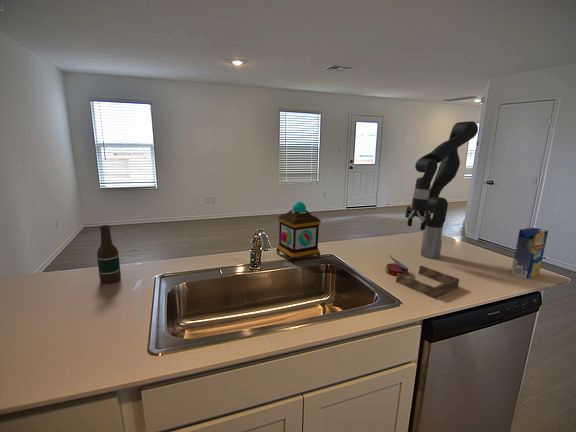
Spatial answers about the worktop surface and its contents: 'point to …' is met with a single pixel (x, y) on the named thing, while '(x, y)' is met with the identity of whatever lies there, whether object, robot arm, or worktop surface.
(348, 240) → the worktop surface
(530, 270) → the beverage box
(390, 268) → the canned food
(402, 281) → the box
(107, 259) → the beer bottle
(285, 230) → the decorative lantern
